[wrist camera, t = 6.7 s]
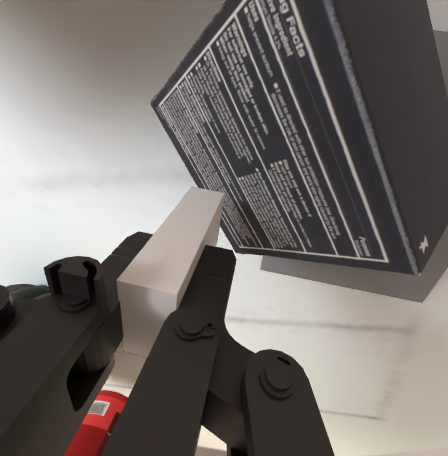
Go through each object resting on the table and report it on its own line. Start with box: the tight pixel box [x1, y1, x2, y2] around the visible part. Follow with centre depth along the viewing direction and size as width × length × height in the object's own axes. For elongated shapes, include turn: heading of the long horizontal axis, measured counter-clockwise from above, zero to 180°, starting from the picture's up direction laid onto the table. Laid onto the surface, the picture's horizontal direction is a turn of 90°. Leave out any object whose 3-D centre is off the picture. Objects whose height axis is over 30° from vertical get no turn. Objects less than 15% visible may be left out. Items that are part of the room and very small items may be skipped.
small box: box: [151, 0, 448, 277], centre depth 12 cm, size 11×6×10 cm
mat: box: [261, 30, 448, 303], centre depth 18 cm, size 14×18×1 cm
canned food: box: [64, 390, 128, 456], centre depth 37 cm, size 8×8×11 cm
